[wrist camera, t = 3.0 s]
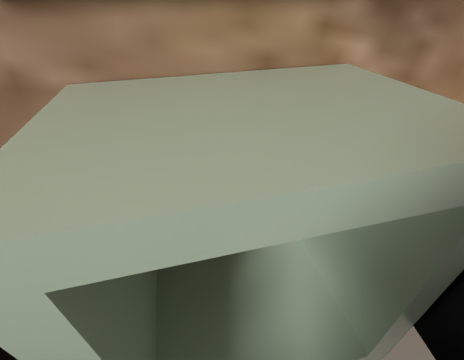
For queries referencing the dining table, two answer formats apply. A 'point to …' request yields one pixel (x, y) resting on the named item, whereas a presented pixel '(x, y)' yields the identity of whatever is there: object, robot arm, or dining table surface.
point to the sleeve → (230, 217)
